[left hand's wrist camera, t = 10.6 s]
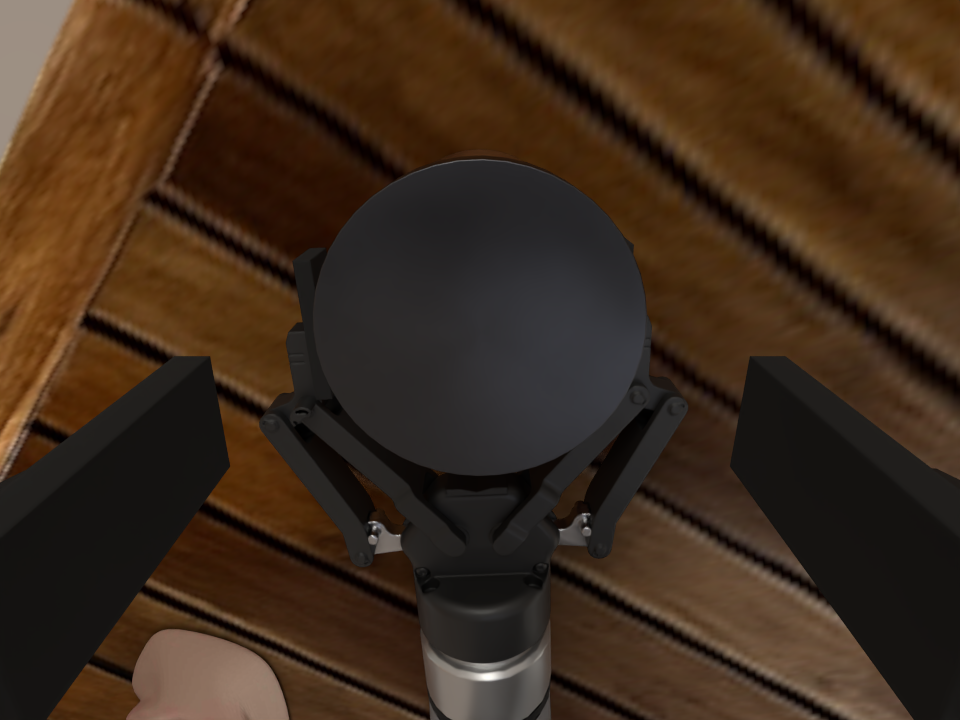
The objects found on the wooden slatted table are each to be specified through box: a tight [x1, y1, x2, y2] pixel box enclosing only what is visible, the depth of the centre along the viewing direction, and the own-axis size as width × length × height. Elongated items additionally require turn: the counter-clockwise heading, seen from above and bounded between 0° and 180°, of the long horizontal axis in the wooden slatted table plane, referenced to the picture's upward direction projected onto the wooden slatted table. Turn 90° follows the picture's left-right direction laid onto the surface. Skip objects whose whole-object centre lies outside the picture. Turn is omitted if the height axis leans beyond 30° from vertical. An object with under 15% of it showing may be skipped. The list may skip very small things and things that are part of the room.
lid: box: [313, 155, 647, 476], centre depth 19 cm, size 10×10×2 cm
